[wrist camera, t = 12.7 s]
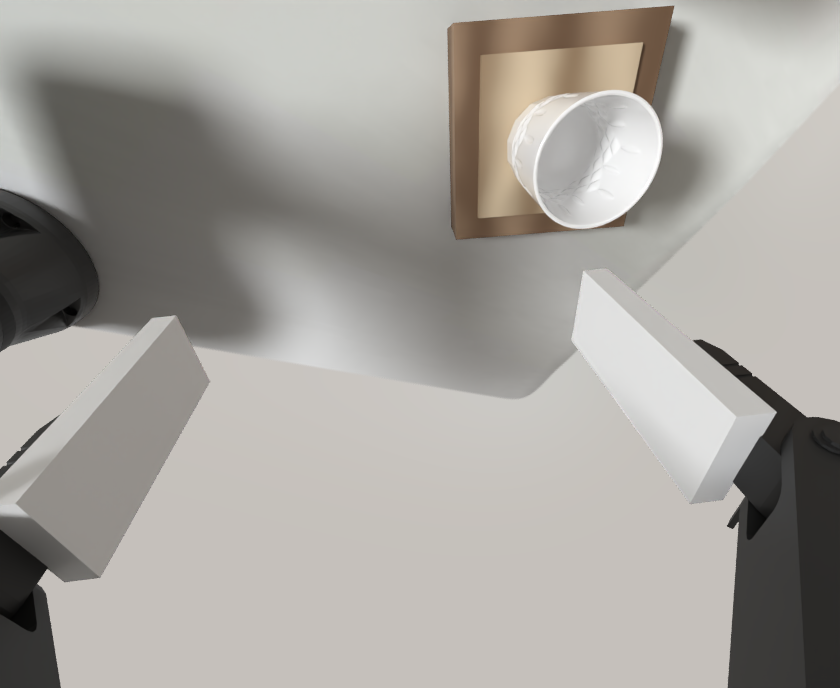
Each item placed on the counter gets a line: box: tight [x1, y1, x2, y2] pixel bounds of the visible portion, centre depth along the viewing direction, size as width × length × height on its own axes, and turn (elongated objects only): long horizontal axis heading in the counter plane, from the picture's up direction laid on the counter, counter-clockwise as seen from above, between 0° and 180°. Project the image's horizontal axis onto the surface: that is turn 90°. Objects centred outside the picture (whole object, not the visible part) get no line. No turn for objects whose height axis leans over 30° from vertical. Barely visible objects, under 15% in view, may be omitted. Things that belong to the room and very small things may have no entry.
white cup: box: [507, 90, 663, 229], centre depth 28 cm, size 8×8×10 cm
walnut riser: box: [447, 6, 674, 240], centre depth 34 cm, size 16×16×4 cm
